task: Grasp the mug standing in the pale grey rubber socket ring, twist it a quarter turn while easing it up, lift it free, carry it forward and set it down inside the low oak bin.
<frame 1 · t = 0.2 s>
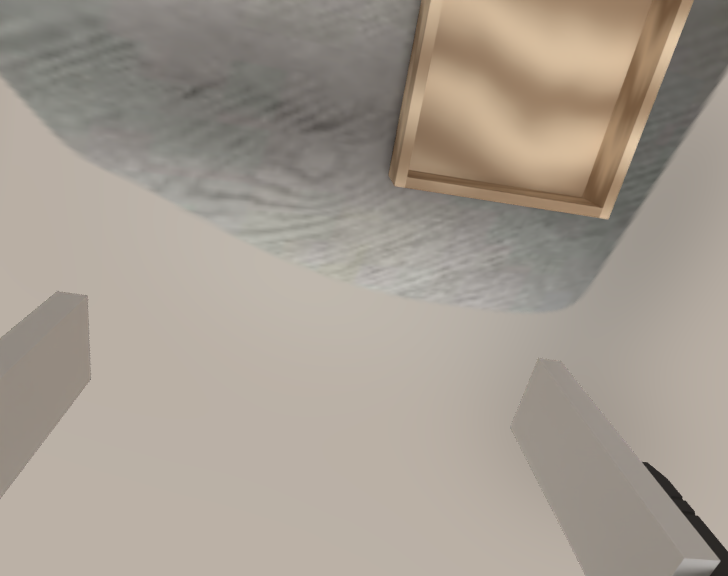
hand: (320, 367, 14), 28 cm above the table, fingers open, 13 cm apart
oak bin: (519, 80, 37), on the table
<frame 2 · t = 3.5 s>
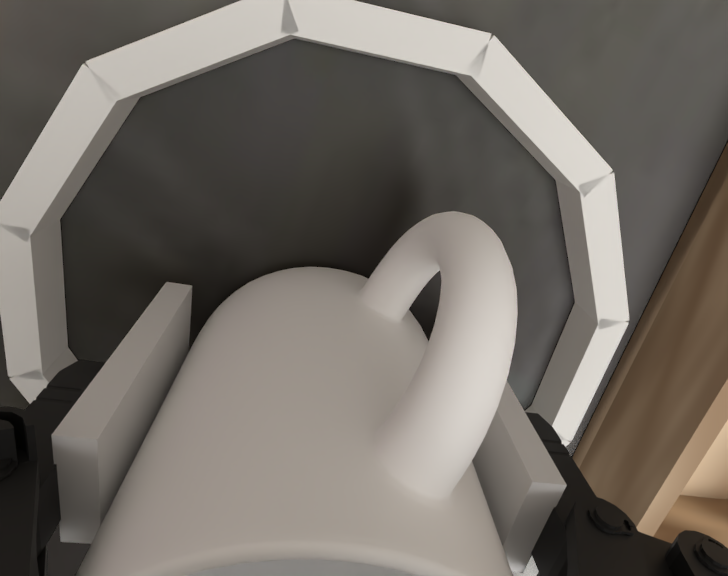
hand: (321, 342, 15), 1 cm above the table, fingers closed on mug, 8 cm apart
socket ring: (326, 324, 16), on the table
mug: (341, 322, 17), resting in socket ring, touching gripper
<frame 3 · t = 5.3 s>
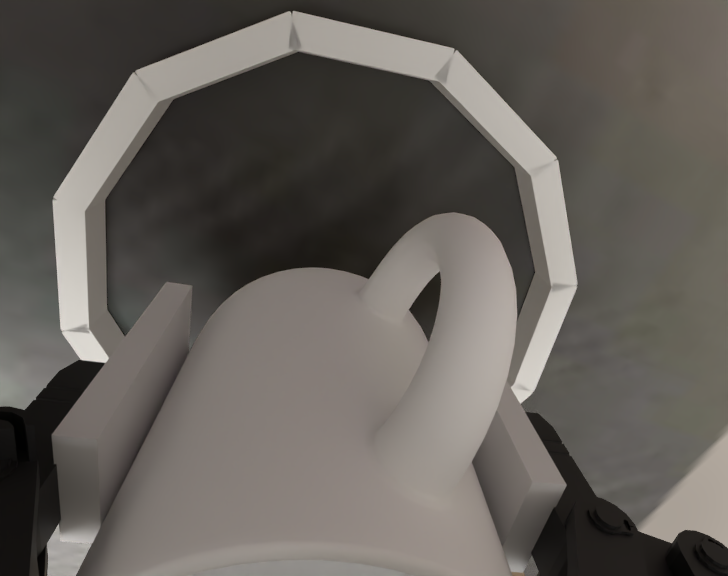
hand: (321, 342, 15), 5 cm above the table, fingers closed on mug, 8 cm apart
socket ring: (324, 290, 20), on the table
mug: (341, 323, 17), point 3 cm above the table, touching gripper
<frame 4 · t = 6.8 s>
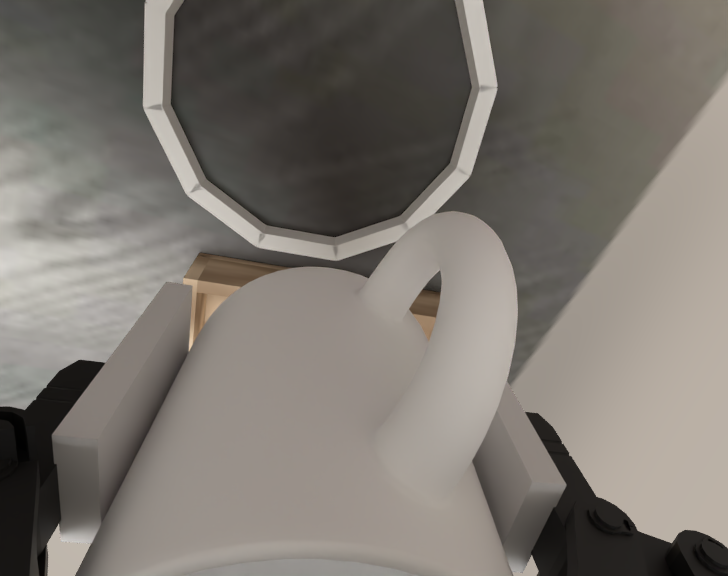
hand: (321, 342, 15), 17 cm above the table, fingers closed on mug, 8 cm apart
socket ring: (323, 95, 28), on the table
oak bin: (309, 377, 36), on the table
mug: (341, 322, 17), point 16 cm above the table, touching gripper
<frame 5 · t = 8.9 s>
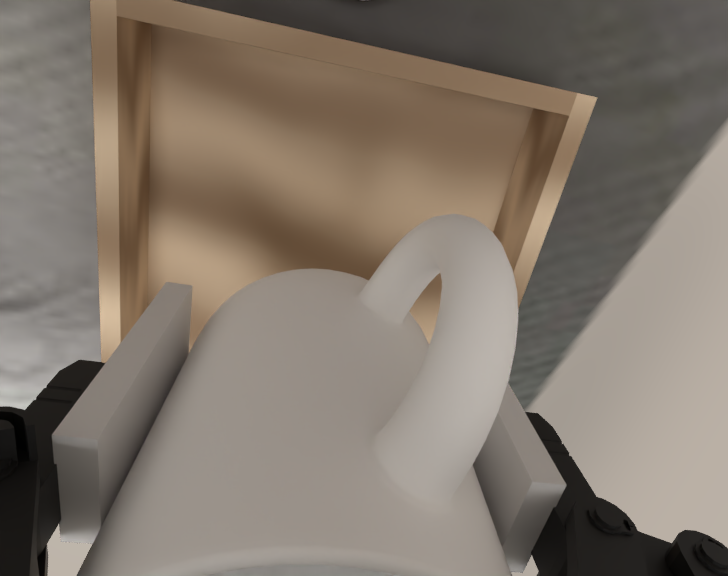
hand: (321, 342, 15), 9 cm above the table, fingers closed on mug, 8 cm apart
oak bin: (322, 244, 23), on the table
mug: (341, 324, 17), point 8 cm above the table, touching gripper
when the fingers open (4 cm above the table, at t = 10.2 s): mug drops 2 cm, resting on oak bin.
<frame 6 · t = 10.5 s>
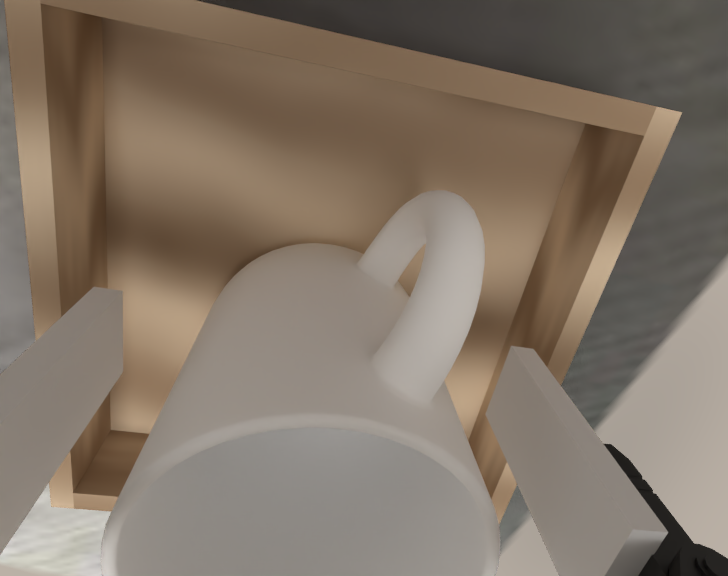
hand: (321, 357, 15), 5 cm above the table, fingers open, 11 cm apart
oak bin: (322, 287, 19), on the table
mug: (339, 295, 19), resting on oak bin
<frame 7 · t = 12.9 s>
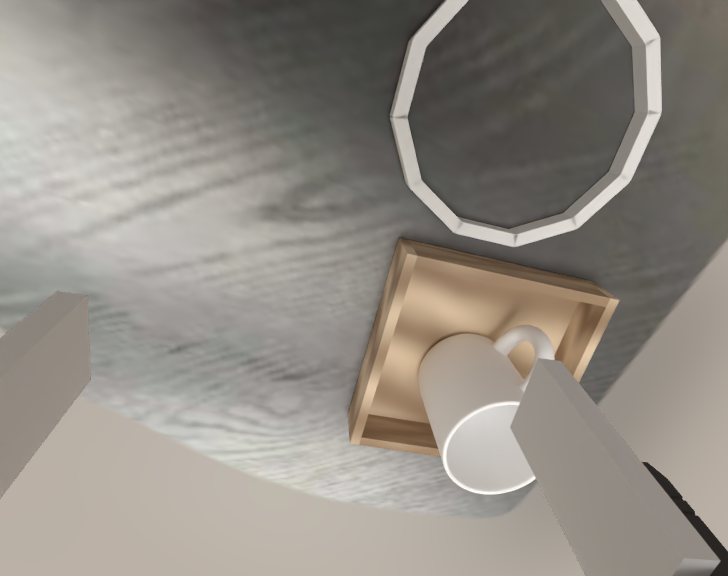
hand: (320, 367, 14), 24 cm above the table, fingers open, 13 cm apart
socket ring: (521, 113, 35), on the table
oak bin: (465, 350, 43), on the table
mug: (473, 354, 43), resting on oak bin
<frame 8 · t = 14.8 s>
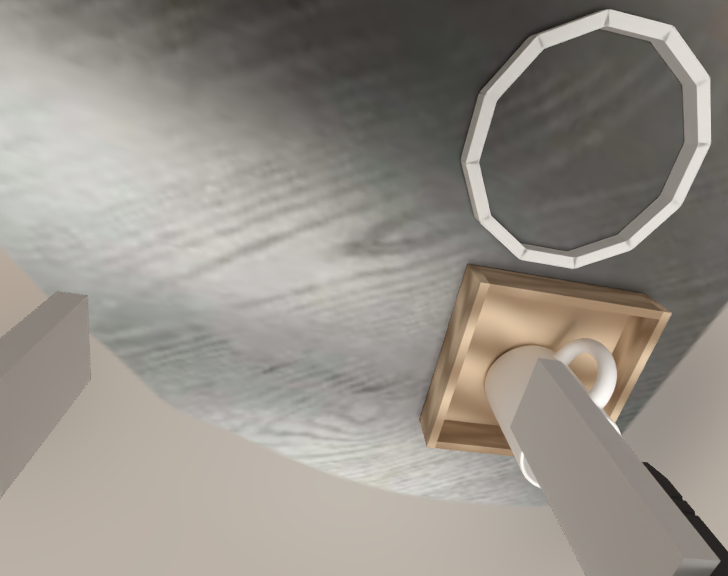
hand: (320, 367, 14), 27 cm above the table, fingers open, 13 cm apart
socket ring: (579, 150, 39), on the table
oak bin: (526, 359, 47), on the table
mug: (534, 362, 47), resting on oak bin
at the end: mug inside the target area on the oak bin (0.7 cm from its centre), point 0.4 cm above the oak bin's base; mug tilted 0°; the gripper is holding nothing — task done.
